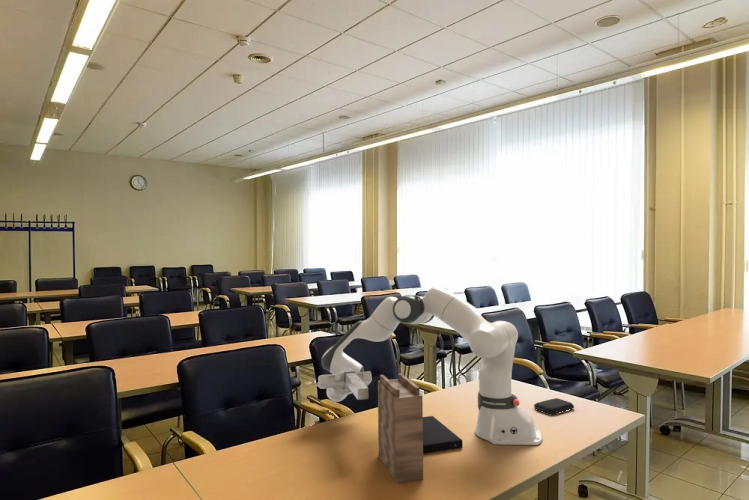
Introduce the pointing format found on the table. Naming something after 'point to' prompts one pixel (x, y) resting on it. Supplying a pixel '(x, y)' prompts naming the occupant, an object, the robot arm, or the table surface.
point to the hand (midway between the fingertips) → (348, 374)
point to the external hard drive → (438, 436)
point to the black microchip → (553, 406)
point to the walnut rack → (400, 428)
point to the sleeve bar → (355, 383)
